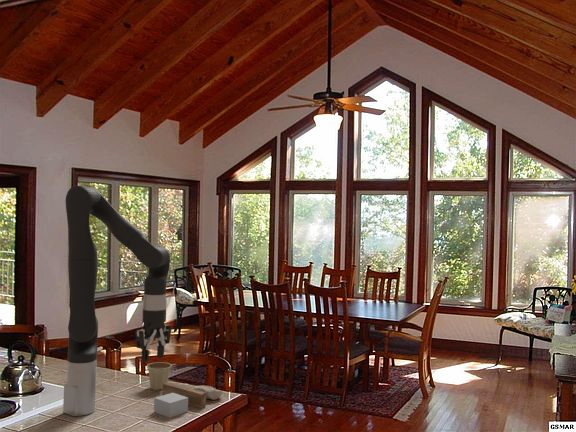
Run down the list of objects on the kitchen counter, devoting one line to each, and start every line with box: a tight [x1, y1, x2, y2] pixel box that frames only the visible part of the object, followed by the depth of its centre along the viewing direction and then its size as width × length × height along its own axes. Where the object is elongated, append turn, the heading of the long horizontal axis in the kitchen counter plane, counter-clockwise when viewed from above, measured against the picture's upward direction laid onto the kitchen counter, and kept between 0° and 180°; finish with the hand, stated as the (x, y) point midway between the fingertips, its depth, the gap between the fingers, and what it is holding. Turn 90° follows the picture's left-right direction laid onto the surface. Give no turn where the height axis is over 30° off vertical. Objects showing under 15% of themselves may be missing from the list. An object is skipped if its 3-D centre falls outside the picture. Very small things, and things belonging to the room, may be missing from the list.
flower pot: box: [146, 361, 173, 391], centre depth 224 cm, size 9×9×9 cm
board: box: [161, 381, 207, 409], centre depth 208 cm, size 2×19×5 cm, turn 56°
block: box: [153, 393, 189, 418], centre depth 198 cm, size 8×8×5 cm
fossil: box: [193, 385, 223, 401], centre depth 214 cm, size 9×6×10 cm
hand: (152, 359), depth 190 cm, fingers open, 5 cm apart
